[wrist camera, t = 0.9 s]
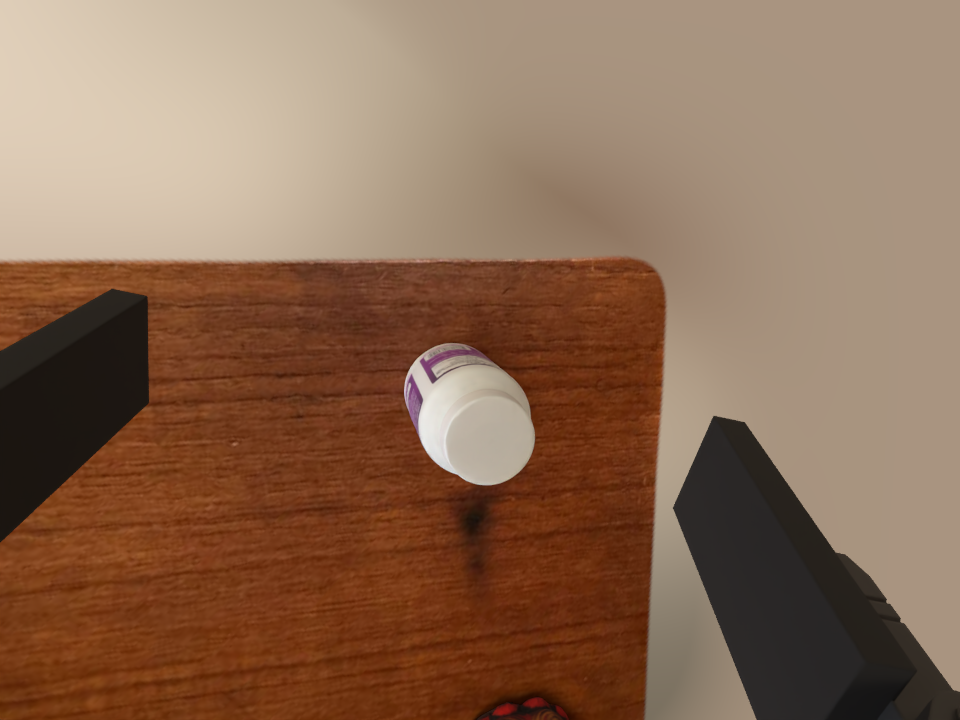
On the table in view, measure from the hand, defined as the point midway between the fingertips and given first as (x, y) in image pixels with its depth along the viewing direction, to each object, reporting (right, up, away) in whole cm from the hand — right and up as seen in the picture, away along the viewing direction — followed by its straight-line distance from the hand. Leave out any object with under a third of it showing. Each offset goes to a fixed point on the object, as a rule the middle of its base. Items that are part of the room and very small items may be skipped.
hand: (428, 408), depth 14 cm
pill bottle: (-1, 0, +21) cm, 21 cm away
